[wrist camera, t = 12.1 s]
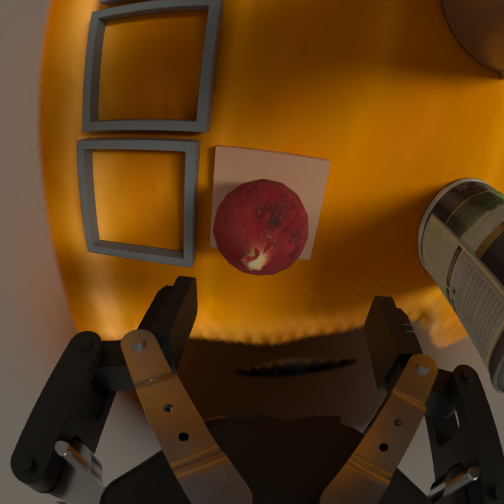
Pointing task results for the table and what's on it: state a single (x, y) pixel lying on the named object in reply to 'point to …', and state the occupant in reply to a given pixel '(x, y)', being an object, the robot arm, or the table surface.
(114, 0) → the tray
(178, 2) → the tray
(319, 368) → the table surface
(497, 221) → the coffee can
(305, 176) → the tile
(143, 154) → the table surface
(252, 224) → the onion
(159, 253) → the tray
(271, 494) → the robot arm
